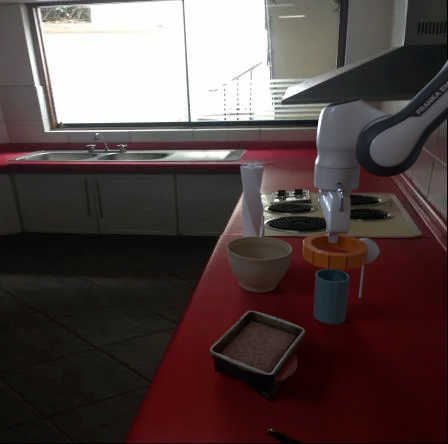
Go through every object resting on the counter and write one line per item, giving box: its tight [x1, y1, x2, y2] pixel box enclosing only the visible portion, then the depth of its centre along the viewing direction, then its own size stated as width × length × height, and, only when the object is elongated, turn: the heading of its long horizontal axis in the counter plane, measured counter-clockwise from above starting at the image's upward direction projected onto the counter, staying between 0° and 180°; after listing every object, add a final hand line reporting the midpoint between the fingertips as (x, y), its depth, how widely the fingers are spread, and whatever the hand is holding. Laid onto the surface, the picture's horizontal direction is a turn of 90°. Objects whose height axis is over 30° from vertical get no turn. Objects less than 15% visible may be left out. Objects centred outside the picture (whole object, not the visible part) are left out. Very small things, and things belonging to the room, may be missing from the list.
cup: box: [312, 268, 351, 325], centre depth 92 cm, size 7×7×10 cm
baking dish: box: [209, 310, 306, 403], centre depth 76 cm, size 14×18×10 cm
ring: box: [301, 232, 368, 271], centre depth 88 cm, size 12×12×3 cm
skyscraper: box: [240, 159, 265, 237], centre depth 134 cm, size 8×8×28 cm
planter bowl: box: [226, 236, 293, 294], centre depth 108 cm, size 16×16×11 cm
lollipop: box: [358, 237, 380, 299], centre depth 98 cm, size 6×6×15 cm
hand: (331, 239), depth 93 cm, fingers closed on ring, 2 cm apart
